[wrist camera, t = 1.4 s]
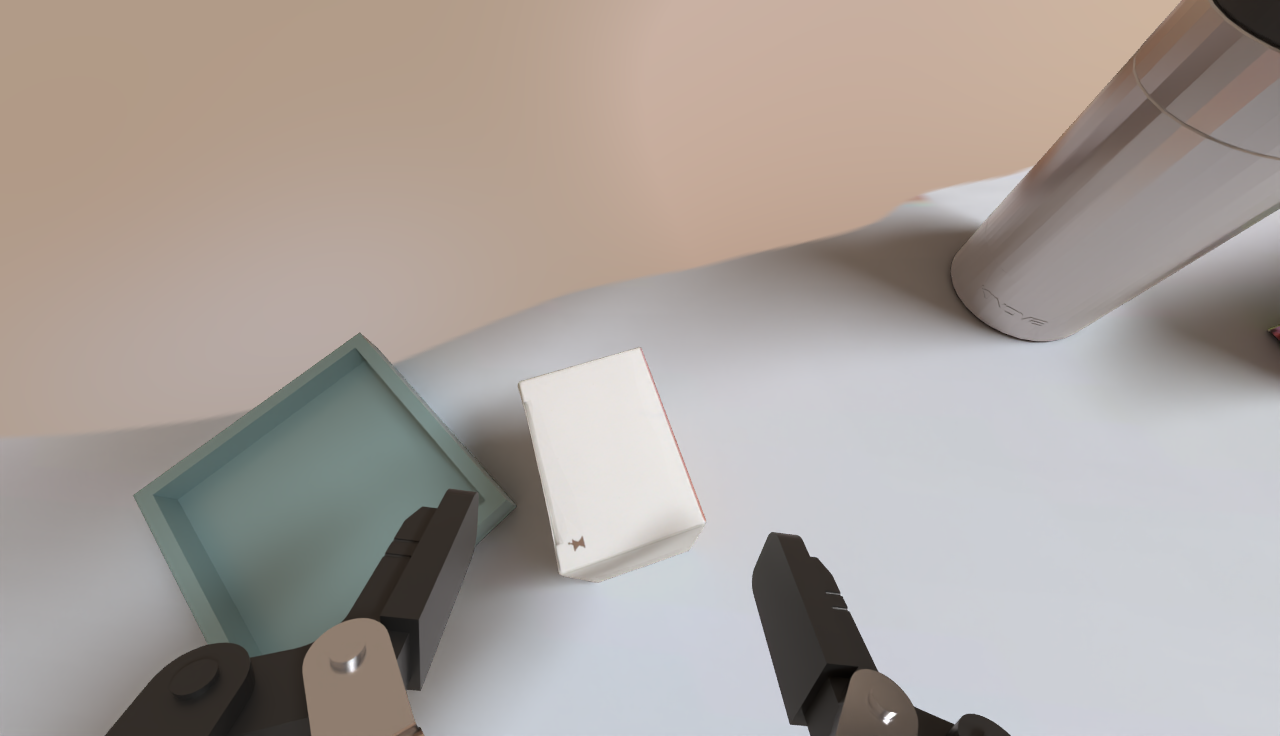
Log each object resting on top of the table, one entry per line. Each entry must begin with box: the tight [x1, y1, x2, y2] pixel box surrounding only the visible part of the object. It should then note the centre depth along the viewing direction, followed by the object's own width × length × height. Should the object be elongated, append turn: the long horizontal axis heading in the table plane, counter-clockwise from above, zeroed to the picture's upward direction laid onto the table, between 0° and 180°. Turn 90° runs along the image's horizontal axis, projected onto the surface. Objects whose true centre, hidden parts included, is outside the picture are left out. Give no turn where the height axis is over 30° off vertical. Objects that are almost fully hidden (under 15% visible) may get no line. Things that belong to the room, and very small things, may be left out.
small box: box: [518, 347, 706, 583], centre depth 22 cm, size 8×6×10 cm
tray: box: [133, 333, 516, 657], centre depth 26 cm, size 15×16×2 cm
